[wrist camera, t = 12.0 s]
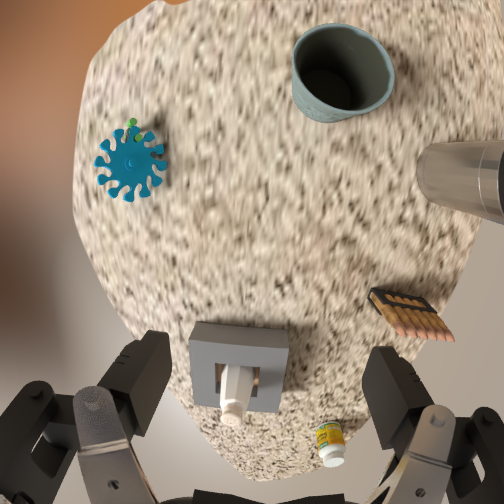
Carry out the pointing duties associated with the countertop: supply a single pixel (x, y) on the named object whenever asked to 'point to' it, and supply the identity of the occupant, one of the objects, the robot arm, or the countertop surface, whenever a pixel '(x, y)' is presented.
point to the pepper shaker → (235, 392)
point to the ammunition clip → (409, 315)
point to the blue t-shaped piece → (130, 162)
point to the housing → (238, 362)
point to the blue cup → (340, 73)
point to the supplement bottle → (330, 443)
